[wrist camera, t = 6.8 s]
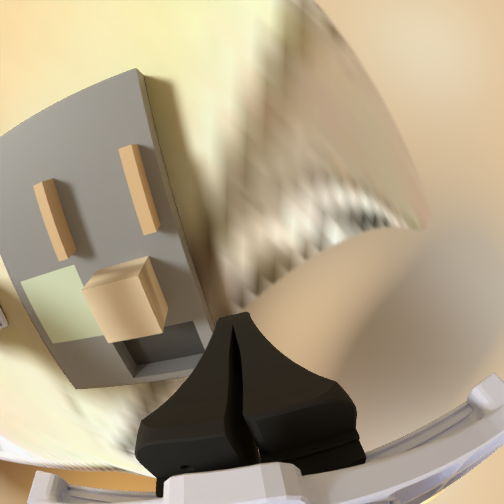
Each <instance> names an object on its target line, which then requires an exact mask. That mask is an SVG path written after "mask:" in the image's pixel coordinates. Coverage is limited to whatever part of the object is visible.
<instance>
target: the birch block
mask: <svg viewBox="0 0 504 504" xmlns="http://www.w3.org/2000/svg"><path fill="white" fill-rule="evenodd" d="M81 291H82V294H83V296H84V298H85V300H86V302H87V304H88V306H89V308H90V310H91V312H92V314H93V316H94V318H95V320H96V322H97V324H98V325H99V327H100V329H101V331H102V333H103V335H104V336H105V338H106V340H107V342H108V343H112V342H118V341H124V340H129V339H135V338H140V337H145V336H150V335H155V334H160V333H163V329H164V325H165V320H166V316H167V312H168V305H167V303H166V300H165V298H164V296H163V293H162V290H161V288H160V285H159V283H158V280H157V278H156V275H155V272H154V270H153V267H152V264H151V262H150V259H149V256H146V257H142V258H138V259H135V260H131V261H128V262H124V263H120V264H117V265H113V266H110V267H106V268H103V269H99V270H97V271H96V272H95V273H94V275H93V276H92V277H91V278H90V280H89V281H88V282H87V284H86V285H85V286H84V287H83V289H82V290H81Z"/></svg>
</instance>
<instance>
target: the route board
mask: <svg viewBox="0 0 504 504" xmlns="http://www.w3.org/2000/svg"><path fill="white" fill-rule="evenodd" d="M0 255H1V257H2V260H3V262H4V265H5V267H6V269H7V272H8V274H9V276H10V279H11V281H12V283H13V285H14V287H15V289H16V292H17V294H18V296H19V298H20V300H21V302H22V304H23V306H24V308H25V310H26V311H27V313H28V315H29V317H30V319H31V321H32V323H33V324H34V326H35V328H36V330H37V331H38V333H39V335H40V336H41V338H42V340H43V341H44V343H45V345H46V346H47V348H48V350H49V351H50V353H51V354H52V356H53V357H54V359H55V360H56V362H57V363H58V365H59V366H60V368H61V369H62V371H63V372H64V374H65V375H66V376H67V378H68V379H69V381H70V382H71V383H72V385H73V386H74V387H75V389H87V388H100V387H111V386H121V385H129V384H138V383H145V382H153V381H160V380H166V379H173V378H179V377H184V376H190V374H191V373H192V371H193V370H194V368H195V367H196V365H197V364H198V362H199V360H200V358H201V357H202V355H203V353H204V351H205V349H206V347H207V345H208V343H209V341H210V339H211V336H212V334H213V331H214V329H215V325H214V323H213V320H212V317H211V314H210V311H209V308H208V306H207V303H206V300H205V297H204V294H203V291H202V288H201V285H200V282H199V279H198V276H197V273H196V270H195V267H194V264H193V260H192V257H191V254H190V251H189V248H188V245H187V241H186V238H185V235H184V232H183V228H182V225H181V222H180V218H179V215H178V211H177V208H176V204H175V201H174V197H173V194H172V190H171V187H170V183H169V179H168V176H167V172H166V168H165V165H164V161H163V157H162V153H161V149H160V145H159V141H158V137H157V133H156V129H155V125H154V121H153V116H152V112H151V108H150V103H149V99H148V94H147V90H146V85H145V80H144V75H143V74H142V73H141V72H140V71H139V70H138V69H136V68H135V69H132V70H129V71H127V72H124V73H121V74H119V75H116V76H113V77H111V78H109V79H106V80H104V81H101V82H99V83H97V84H94V85H92V86H90V87H88V88H85V89H83V90H81V91H79V92H77V93H75V94H73V95H71V96H69V97H67V98H65V99H63V100H61V101H59V102H57V103H55V104H53V105H51V106H49V107H48V108H46V109H44V110H42V111H41V112H39V113H37V114H35V115H34V116H32V117H30V118H29V119H27V120H25V121H24V122H22V123H21V124H19V125H17V126H16V127H14V128H13V129H11V130H10V131H8V132H7V133H5V134H4V135H2V136H1V137H0ZM146 256H149V259H150V262H151V264H152V267H153V270H154V272H155V275H156V278H157V280H158V283H159V285H160V288H161V290H162V293H163V296H164V298H165V300H166V303H167V305H168V312H167V316H166V320H165V325H164V329H163V333H160V334H155V335H150V336H145V337H140V338H135V339H129V340H124V341H118V342H112V343H108V342H107V340H106V338H105V336H104V335H103V333H102V331H101V329H100V327H99V325H98V324H97V322H96V320H95V318H94V316H93V314H92V312H91V310H90V308H89V306H88V304H87V302H86V300H85V298H84V296H83V294H82V291H81V290H82V289H83V287H84V286H85V285H86V284H87V282H88V281H89V280H90V278H91V277H92V276H93V275H94V273H95V272H96V271H97V270H99V269H103V268H106V267H110V266H113V265H117V264H120V263H124V262H128V261H131V260H135V259H138V258H142V257H146Z"/></svg>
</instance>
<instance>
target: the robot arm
mask: <svg viewBox="0 0 504 504" xmlns="http://www.w3.org/2000/svg"><path fill="white" fill-rule="evenodd" d="M7 326H8V322H7V320H6V318H5V316H4V314H3V312H2V310H1V308H0V329H1V328H6V327H7ZM356 418H357V411H356V407H355V405H354V403H353V401H352V400H351V398H350V397H349V396H348V394H347V393H346V392H345V391H344V389H342V387H341V386H340V385H339V384H338V383H337V382H335V381H333V380H330V379H327V378H324V377H321V376H319V375H317V374H314V373H312V372H310V371H308V370H307V369H305V368H303V367H301V366H300V365H298V364H296V363H294V362H293V361H292V360H290V359H289V358H287V357H286V356H285V355H283V354H282V353H281V352H280V351H279V350H277V349H276V348H275V347H274V346H273V345H272V344H271V343H270V342H269V341H268V340H267V339H266V338H265V337H264V336H263V334H262V333H261V332H260V331H259V330H258V328H257V327H256V325H255V324H254V322H253V321H252V319H251V317H250V314H249V313H248V312H243V313H239V314H235V315H231V316H227V317H222V318H219V319H218V321H217V323H216V326H215V329H214V331H213V334H212V336H211V339H210V341H209V343H208V345H207V347H206V349H205V351H204V353H203V355H202V357H201V358H200V360H199V362H198V364H197V365H196V367H195V368H194V370H193V371H192V373H191V374H190V376H189V377H188V378H187V380H186V381H185V382H184V383H183V384H182V386H181V387H180V388H179V389H178V390H177V391H176V392H175V393H174V394H173V395H172V396H171V397H170V398H169V399H168V400H167V401H166V402H165V403H164V404H163V405H162V406H160V407H159V408H158V409H157V410H155V411H154V412H153V413H151V414H150V415H149V416H147V417H146V418H144V419H143V420H142V421H141V423H140V427H139V430H138V435H137V440H136V447H135V456H136V458H137V460H138V461H139V462H140V463H141V464H142V465H143V466H144V467H145V468H146V469H147V470H148V471H149V472H151V473H152V474H153V475H154V476H155V477H156V478H157V482H156V492H137V491H120V490H108V489H99V488H91V487H85V486H78V485H72V484H68V483H67V482H66V481H65V480H64V479H63V478H61V477H59V476H57V475H55V474H52V473H47V472H43V471H36V474H35V477H34V480H33V484H32V487H31V491H30V494H29V498H28V502H27V504H420V503H422V502H424V501H425V500H427V499H429V498H430V497H432V496H434V495H435V494H437V493H438V492H440V491H441V490H443V489H445V488H446V487H448V486H449V485H451V484H452V483H453V482H455V481H456V480H458V479H459V478H461V477H462V476H463V475H465V474H466V473H467V472H469V471H470V470H471V469H473V468H474V467H476V466H477V465H478V464H480V463H481V462H482V461H483V460H485V459H486V458H487V457H489V456H490V455H491V454H492V453H494V452H495V451H496V450H497V449H498V448H500V447H501V446H502V445H503V444H504V382H503V381H502V380H501V379H500V377H498V375H497V374H496V373H492V374H491V375H490V376H488V377H487V378H486V379H484V380H483V381H481V382H480V383H478V384H477V385H476V386H475V387H474V388H473V389H472V390H471V391H470V393H469V395H468V398H467V401H466V402H464V403H463V404H461V405H460V406H458V407H456V408H455V409H453V410H452V411H450V412H448V413H446V414H445V415H443V416H441V417H440V418H438V419H436V420H434V421H432V422H431V423H429V424H427V425H425V426H423V427H421V428H419V429H417V430H415V431H413V432H411V433H410V434H407V435H405V436H403V437H401V438H399V439H397V440H395V441H392V442H390V443H388V444H386V445H383V446H381V447H379V448H376V449H374V450H372V451H369V452H366V453H364V450H363V448H362V446H361V444H360V442H359V434H358V432H357V430H356ZM258 449H259V452H258ZM259 454H260V456H259Z"/></svg>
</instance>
